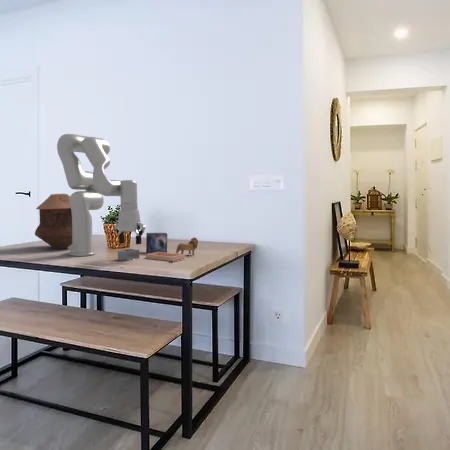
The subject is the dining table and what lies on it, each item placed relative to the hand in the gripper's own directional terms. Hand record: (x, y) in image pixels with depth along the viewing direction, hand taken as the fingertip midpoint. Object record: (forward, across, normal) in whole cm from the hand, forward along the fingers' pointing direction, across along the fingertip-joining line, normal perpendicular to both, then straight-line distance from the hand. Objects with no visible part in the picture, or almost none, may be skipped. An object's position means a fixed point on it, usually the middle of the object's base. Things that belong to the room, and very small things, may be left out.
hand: (130, 243), depth 189 cm
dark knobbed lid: (+8, -1, 0) cm, 8 cm away
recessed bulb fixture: (+7, -1, 0) cm, 7 cm away
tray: (+8, +12, +11) cm, 18 cm away
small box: (+8, -3, +25) cm, 26 cm away
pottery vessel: (+6, -58, +12) cm, 60 cm away
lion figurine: (+9, +14, +26) cm, 31 cm away
